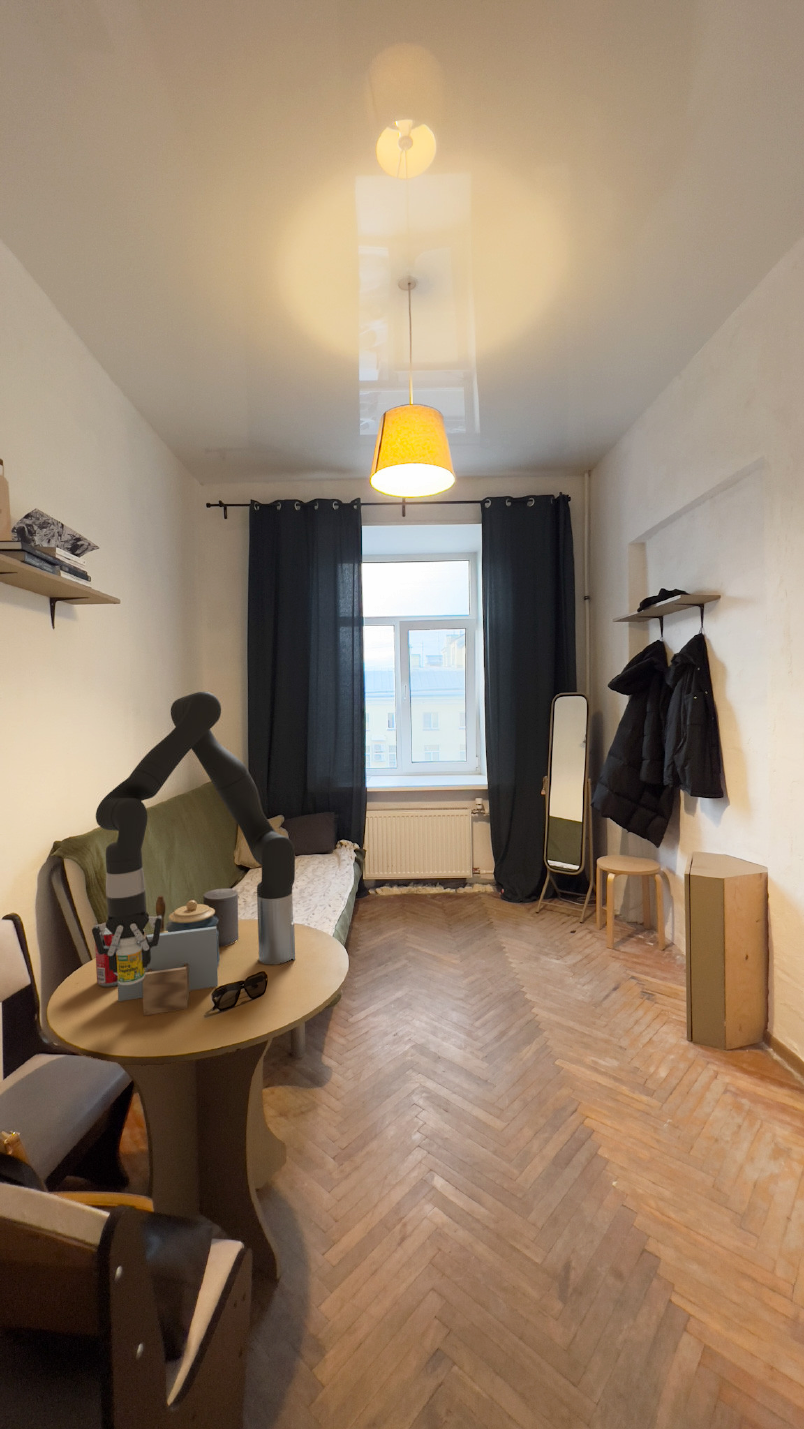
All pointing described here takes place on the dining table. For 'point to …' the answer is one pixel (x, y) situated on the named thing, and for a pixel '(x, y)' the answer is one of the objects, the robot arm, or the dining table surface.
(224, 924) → the pillar candle
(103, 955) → the soda can
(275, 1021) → the dining table surface
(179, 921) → the canister
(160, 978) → the cleat pocket
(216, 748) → the robot arm
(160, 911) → the hand bell
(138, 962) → the supplement bottle
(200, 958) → the wall board
